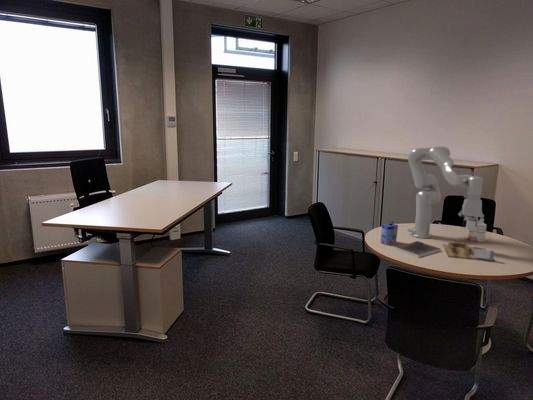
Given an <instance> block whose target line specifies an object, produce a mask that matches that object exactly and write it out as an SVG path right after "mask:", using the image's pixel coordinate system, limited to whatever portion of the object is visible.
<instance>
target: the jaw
mask: <svg viewBox="0 0 533 400" xmlns="http://www.w3.org/2000/svg"><path fill="white" fill-rule="evenodd" d="M473 218H474V217H470V216H467V219H466V221H467V223H466V227H464V229H466V230H469V229H472V230H475V225H476V221H475V220H474V219H473Z"/></svg>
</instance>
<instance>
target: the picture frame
mask: <svg viewBox="0 0 533 400" xmlns="http://www.w3.org/2000/svg"><path fill="white" fill-rule="evenodd" d="M441 250H442V249H441V248H440V247H437V246H434V245H430V244H427V243H424V242H422V241H418V240H416V241H413V242H410V243H406V244H402V245H398V246H395V251H397V252H400V253H401V252H402V253H404V254H407V255H410V256H413V257H416V258H422V257H425V256H428V255H431V254H435V253H439V252H441Z"/></svg>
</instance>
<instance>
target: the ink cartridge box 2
mask: <svg viewBox="0 0 533 400" xmlns="http://www.w3.org/2000/svg"><path fill="white" fill-rule="evenodd" d="M472 218H473V219H474V217H472ZM484 221H485V218H481V219H479V220H478V221H477V226H475V230H472V229H468V237H467V239H468V240H469V241H470V242H478V243H479V242H480V243H481V242H482V243H483V242H485V240H486V239H485V238H486V232H487V224H486V223H485V222H484Z"/></svg>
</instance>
